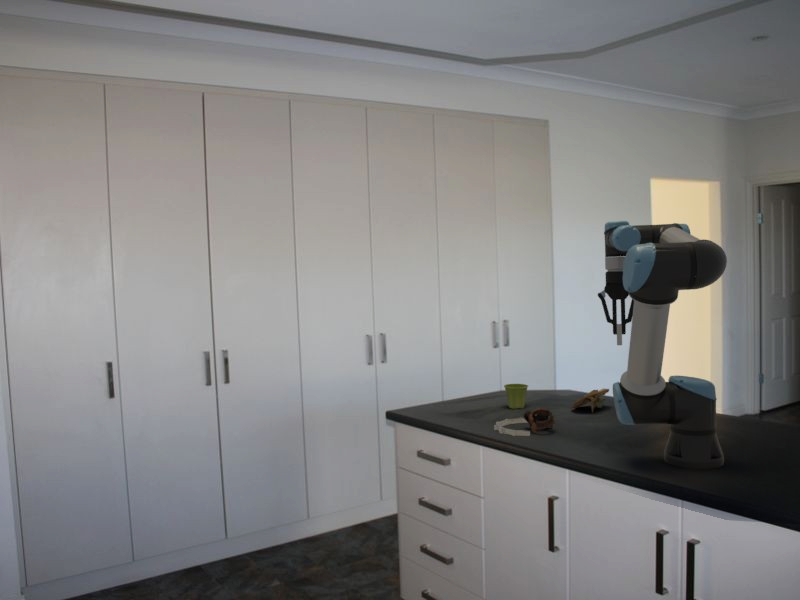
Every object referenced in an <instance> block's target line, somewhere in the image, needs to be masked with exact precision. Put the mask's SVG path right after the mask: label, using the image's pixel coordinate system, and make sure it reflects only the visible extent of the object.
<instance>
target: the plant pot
mask: <svg viewBox="0 0 800 600" xmlns="http://www.w3.org/2000/svg"><path fill="white" fill-rule="evenodd" d="M503 387H504V389H505V392H506V398H507V404H508V408H510V409H512V410H513V409H514V410H516V409H524V408H525V405H526V399H527V397H526V396H527V390H528V387H529V385H528V384H524V383H508V384H504V385H503Z"/></svg>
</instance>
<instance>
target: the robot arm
mask: <svg viewBox="0 0 800 600" xmlns="http://www.w3.org/2000/svg"><path fill="white" fill-rule="evenodd" d="M689 227H690V226H689V225H688V224H686V223H675V222H673V223H665V224H664V223H663V224H641V225H640V224H639V225H636V224H635V225H630V222H629V221H627V220H617V221H616V220H614V221H607V222H605V224H604V231H603V235H604V254H605V255H604V256H605V257H604V263H605V265H604V266H605V270H607V271H606V272H605V286H604V289H603V290H602V291H600V292H598V293H597V297H598V298H599V299H600V301H601V305H602V308H603V312H604V315H605V319H606V322H607V323H609V324H611V325H612V333H613V335H614V336H615V335H616V346H623V335H626V330H627V329H626V327H627V324H629V323H631V327H630V337H629V338H630V339H629V347H628V348H629V349H628V356H627V357H628V359H627V367H626V368H627V369H626V371H625V372H623V373H622V374H621V376H620V379H619V381H617V382H614V383H613V384H612V395H613V396H612V397H613V403H614V408H615V412H616V413H615V414H616V417H617V419H618V421H619V422H620V423H621V424H623V425H627V426H628V425H629V426H647V425H653V426H654V425H657V426H659V425H660V426H661V425H665V426H666V425H669V436H668V439H667V442H666V444H665V447H664V450H663V461H664V462H665V463H666V464H669V465H671V466H673V467H678V468H681V467H682V468H681V469H688V468H689V469H688V470H712V469H713V470H714V469H718V468H721V467H722V466H724V464H725V457H724V456H725V455H724V452H723V449H722V447H721V443H720V441H719V439H718V435H717V394H716V387H715V384H714V383H713V382H712V381H709V380H707V379H703V378H700V377H694V376H686V375H670V376H669V377H668V381H666V380H665V378H664V377H663V376H662V369H663V361H664V354H665V345H666V338H667V331H668V323H669V315H670V307H671V304H673V303H675V302H676V301H677V299H678V298H679V291H686V290H687V291H689V290H699V289H703V288H706V287H709V286H710V285H712V284H714V283H715V282H717V281H718V280H719V279H720V278H721V277H722V276H723V274H724V273H725V271H726V268H727V263H728V259H727V255H726V252H725V251H724V250H725V249H723V248H722V246H720V245H719V244H717V243H716V242H714V241H712V240H709V239H700V238H698V237H696V236H694V235H693V234H692V233H691V230H690V228H689ZM606 295H607V296H608V297H609V299H611V303H612V308H611V309H612V310H611V311H612V318H611V315H610V313H609V308H608V305H607V302H606ZM628 296H629V297H630V298H631V302H630V306H629V309H628V310H629V311H628V314H627V318H626V299H628ZM617 300H620V320H621V323H618V321H617V320H618V317H617V316H618V314H617Z"/></svg>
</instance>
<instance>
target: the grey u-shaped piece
mask: <svg viewBox="0 0 800 600" xmlns="http://www.w3.org/2000/svg"><path fill="white" fill-rule="evenodd" d="M514 424H529V423H528V422H527V421H526V420H525V418H524V417H516V418H505V419H504V420H500V421H499V420H498V421H496V422H495V424H494V425H493V430H494V431H498V433H499V434H501V435H502V434H505V435H509V436H510V435H511V436H512V437H516V436H519V437H522V436H524V437H530V436H531V430H525V429H524V430H523V429H522V430H521V429H519V430H518V429H517V430H516V429H511V428H506V427H505V426H509V425H514Z"/></svg>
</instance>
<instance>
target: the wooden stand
mask: <svg viewBox="0 0 800 600" xmlns="http://www.w3.org/2000/svg"><path fill="white" fill-rule="evenodd" d="M609 392H610V388H603V387H602V389H593V390H591V391H590V392H588V393H587V394H585V395H584V396H582V397H580V398H579V399H577V400H576V401H575V402H574V403H573V404H572V405H571V407H570V409H577V408H580V407H583V406H585V405H587V404H589V403H590V409H591V414H593V413H594V410H595V408H598V409H599V408H600V409H601V408H603V403H604V401H606V400H607V399H605V398H603V399H601V397H604V396H605V395H606V394H607V393H609Z"/></svg>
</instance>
